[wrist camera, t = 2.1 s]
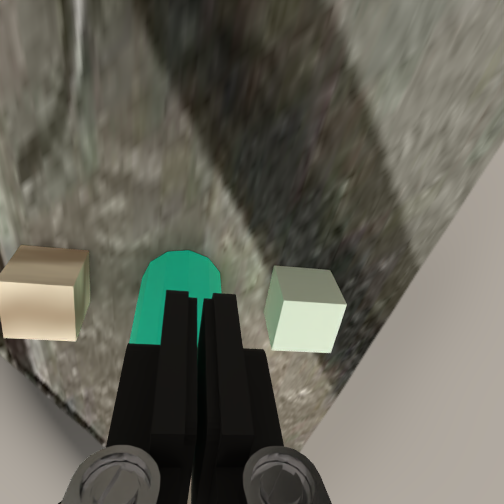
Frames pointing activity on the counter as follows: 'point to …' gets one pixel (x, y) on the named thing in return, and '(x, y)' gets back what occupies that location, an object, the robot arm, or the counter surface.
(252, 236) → the counter surface
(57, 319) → the birch block
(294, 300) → the sage block
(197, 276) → the candle
